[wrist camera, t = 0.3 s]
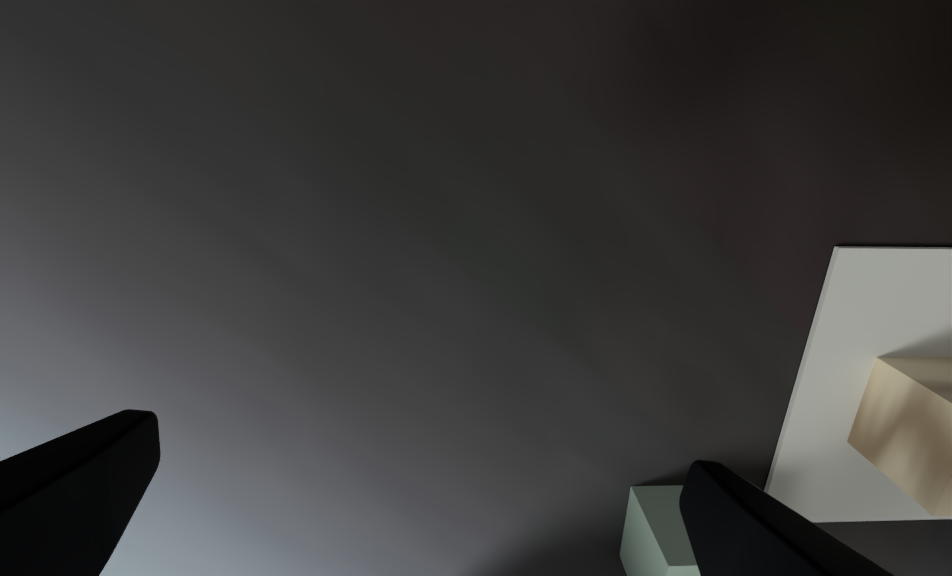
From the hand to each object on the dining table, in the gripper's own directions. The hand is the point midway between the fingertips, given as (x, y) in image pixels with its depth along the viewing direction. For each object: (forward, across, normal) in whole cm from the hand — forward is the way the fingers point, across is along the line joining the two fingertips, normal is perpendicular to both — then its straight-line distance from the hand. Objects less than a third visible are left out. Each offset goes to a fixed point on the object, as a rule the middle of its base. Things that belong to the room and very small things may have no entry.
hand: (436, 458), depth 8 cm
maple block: (+14, -24, +5) cm, 28 cm away
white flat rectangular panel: (+14, -24, +5) cm, 29 cm away
